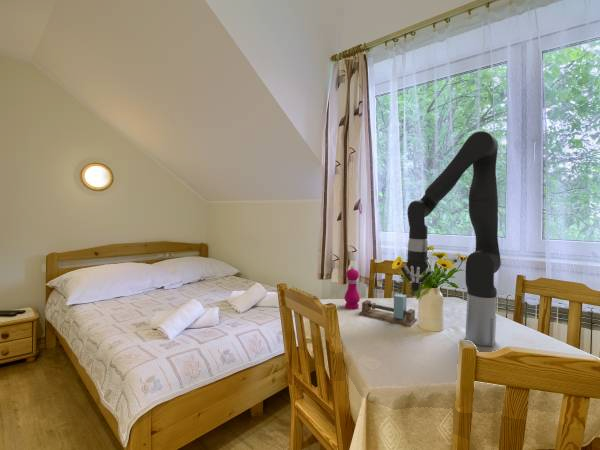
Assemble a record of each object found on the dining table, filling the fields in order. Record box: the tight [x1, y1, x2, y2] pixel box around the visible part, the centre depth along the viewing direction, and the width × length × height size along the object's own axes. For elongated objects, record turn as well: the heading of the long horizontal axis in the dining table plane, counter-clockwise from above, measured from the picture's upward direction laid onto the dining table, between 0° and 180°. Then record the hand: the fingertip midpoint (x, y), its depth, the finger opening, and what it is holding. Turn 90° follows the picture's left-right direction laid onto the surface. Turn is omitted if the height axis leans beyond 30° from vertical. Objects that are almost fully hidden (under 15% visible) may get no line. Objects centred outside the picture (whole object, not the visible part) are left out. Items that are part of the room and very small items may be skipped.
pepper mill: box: [344, 266, 361, 310], centre depth 155 cm, size 7×7×20 cm
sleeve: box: [393, 293, 408, 319], centre depth 138 cm, size 4×4×9 cm
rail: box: [358, 299, 418, 327], centre depth 141 cm, size 23×8×5 cm, turn 53°
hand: (415, 291), depth 133 cm, fingers closed
